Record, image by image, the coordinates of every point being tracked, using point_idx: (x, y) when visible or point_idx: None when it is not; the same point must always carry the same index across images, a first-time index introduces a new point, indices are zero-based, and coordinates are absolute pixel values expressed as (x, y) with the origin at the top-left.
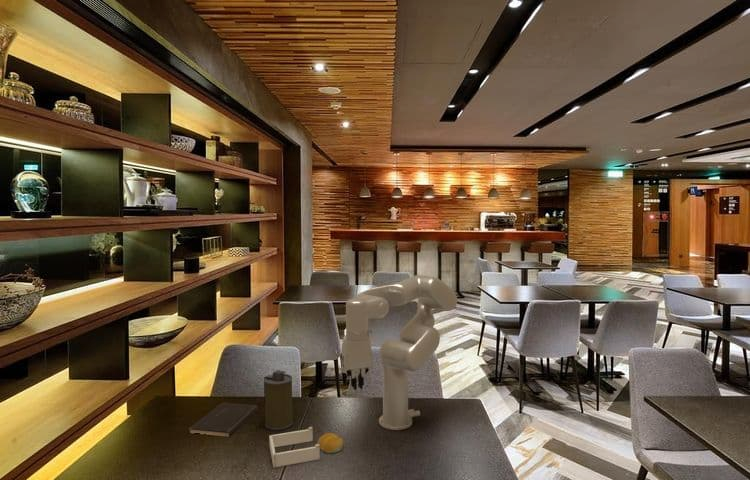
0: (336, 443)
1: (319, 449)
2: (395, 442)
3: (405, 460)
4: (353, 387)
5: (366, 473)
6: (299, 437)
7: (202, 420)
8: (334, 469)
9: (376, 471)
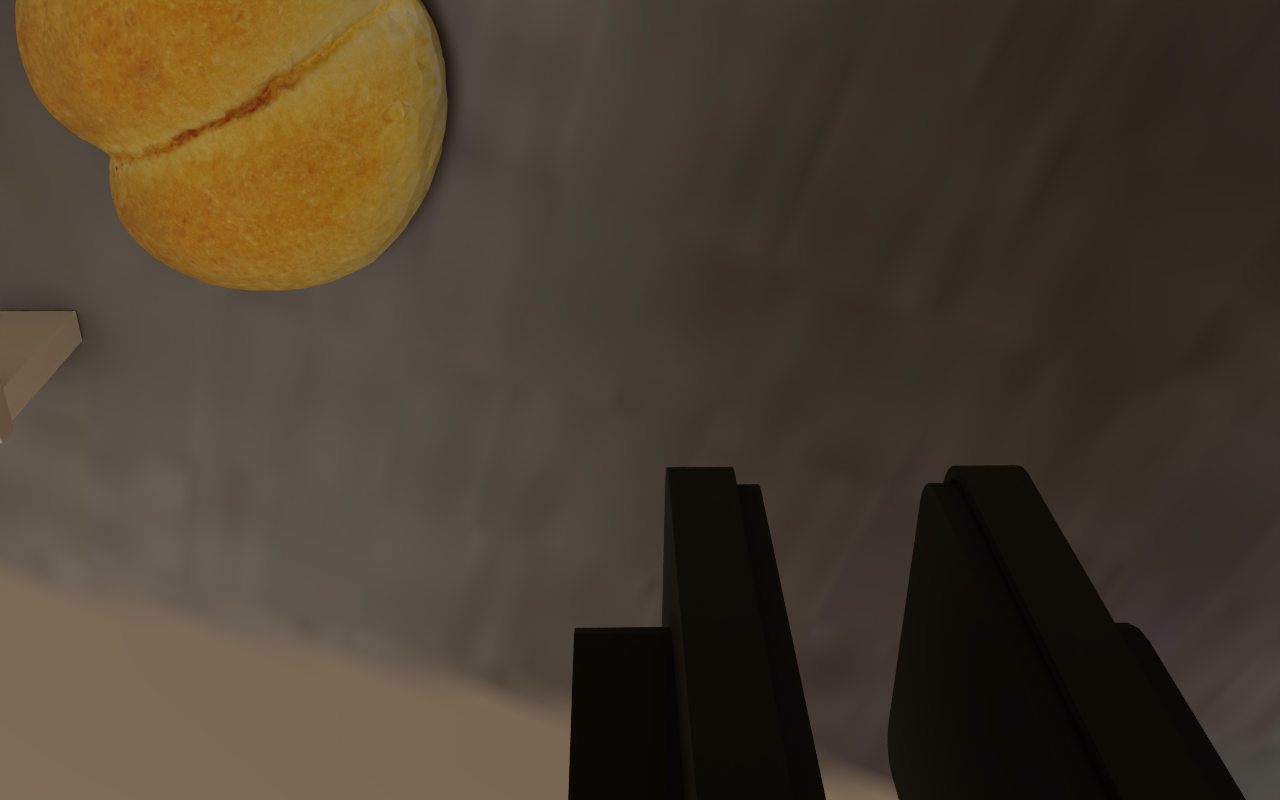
0: (299, 275)
1: (26, 402)
2: (1182, 263)
3: None
4: (662, 621)
5: None
6: None
7: None
8: (255, 573)
9: None
